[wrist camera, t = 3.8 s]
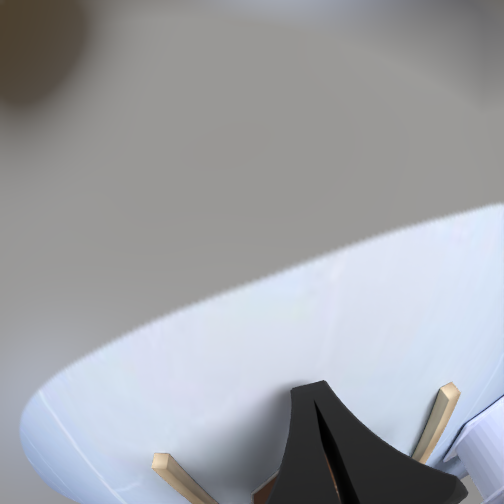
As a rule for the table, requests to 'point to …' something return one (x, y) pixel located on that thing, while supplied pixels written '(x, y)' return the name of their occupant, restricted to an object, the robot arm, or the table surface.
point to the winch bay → (428, 441)
